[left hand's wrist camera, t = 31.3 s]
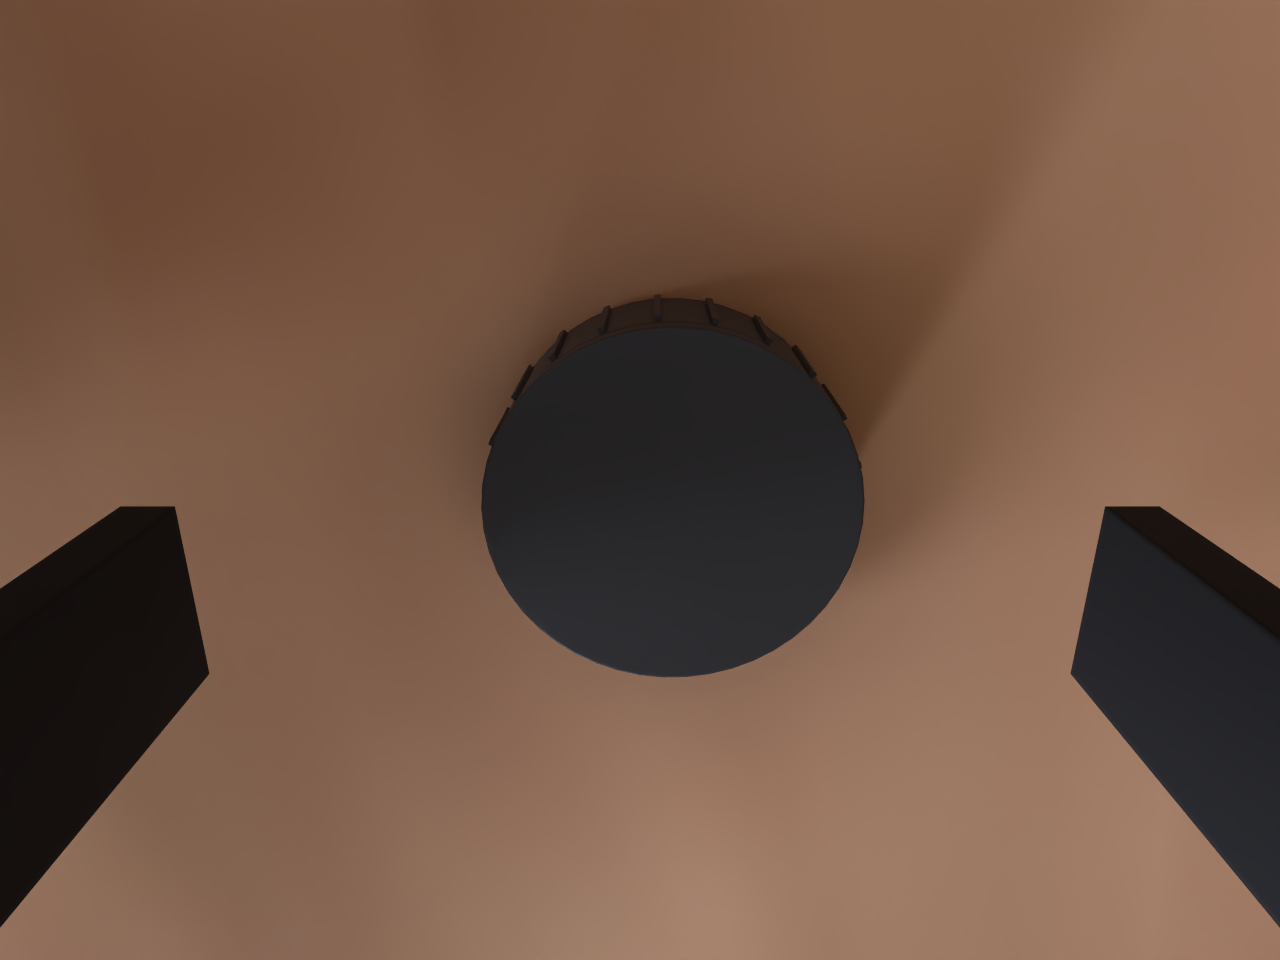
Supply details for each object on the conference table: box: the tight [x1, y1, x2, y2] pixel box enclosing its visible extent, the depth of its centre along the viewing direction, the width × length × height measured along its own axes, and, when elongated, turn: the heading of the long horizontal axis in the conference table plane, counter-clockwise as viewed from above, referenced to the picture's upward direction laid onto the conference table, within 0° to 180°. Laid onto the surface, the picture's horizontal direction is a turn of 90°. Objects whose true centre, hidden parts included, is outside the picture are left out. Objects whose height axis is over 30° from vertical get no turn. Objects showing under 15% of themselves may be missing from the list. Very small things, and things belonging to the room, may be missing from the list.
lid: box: [481, 295, 864, 677], centre depth 15 cm, size 6×6×2 cm
